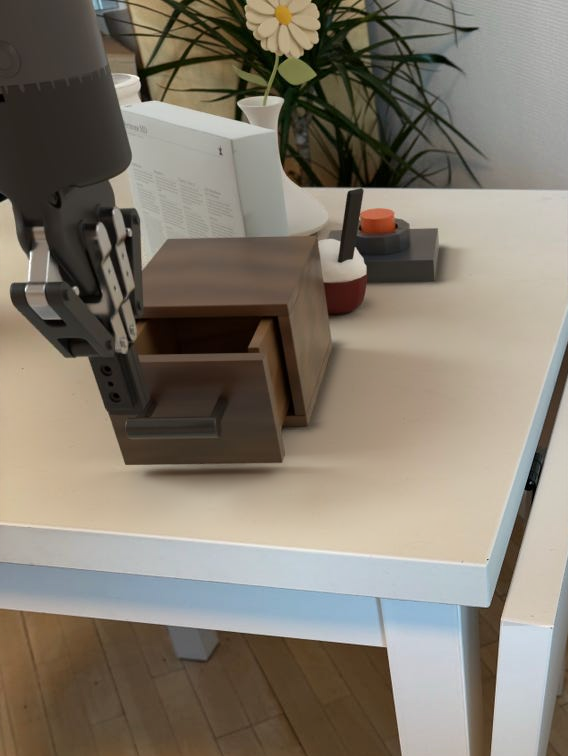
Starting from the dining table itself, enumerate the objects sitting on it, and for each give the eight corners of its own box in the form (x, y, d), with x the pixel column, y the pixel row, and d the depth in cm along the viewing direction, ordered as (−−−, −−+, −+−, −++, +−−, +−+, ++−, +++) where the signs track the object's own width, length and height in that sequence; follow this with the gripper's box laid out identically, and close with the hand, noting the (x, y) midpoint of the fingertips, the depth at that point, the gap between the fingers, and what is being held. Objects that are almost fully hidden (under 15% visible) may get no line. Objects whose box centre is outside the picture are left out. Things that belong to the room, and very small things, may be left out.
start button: (359, 237, 94) (357, 219, 93) (363, 225, 97) (361, 208, 96) (394, 236, 94) (392, 218, 93) (396, 225, 97) (395, 207, 96)
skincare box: (305, 307, 90) (278, 128, 79) (260, 324, 87) (225, 140, 76) (191, 258, 101) (154, 96, 90) (148, 272, 98) (104, 105, 88)
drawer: (271, 495, 63) (249, 389, 57) (106, 497, 63) (69, 392, 58) (310, 378, 76) (295, 284, 71) (174, 380, 76) (149, 287, 71)
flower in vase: (234, 255, 101) (180, -18, 85) (231, 224, 110) (181, -31, 93) (350, 244, 103) (319, -26, 87) (338, 214, 112) (308, -38, 95)
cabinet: (307, 426, 72) (287, 303, 65) (148, 428, 72) (112, 307, 66) (332, 346, 83) (317, 235, 76) (194, 349, 83) (167, 238, 77)
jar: (187, 210, 114) (156, 72, 104) (146, 237, 107) (109, 91, 97) (111, 206, 116) (74, 70, 106) (67, 232, 109) (22, 89, 99)
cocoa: (301, 296, 92) (281, 168, 84) (361, 288, 93) (347, 160, 85) (316, 333, 85) (296, 196, 77) (381, 323, 86) (368, 188, 78)
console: (320, 283, 94) (314, 244, 92) (333, 250, 102) (328, 213, 99) (434, 281, 94) (432, 241, 92) (439, 248, 102) (437, 210, 99)
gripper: (-1, 39, 46) (103, 361, 58) (-135, 95, 36) (22, 470, 48) (144, 35, 46) (219, 359, 58) (48, 89, 36) (162, 467, 48)
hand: (129, 409), depth 53 cm, fingers closed
